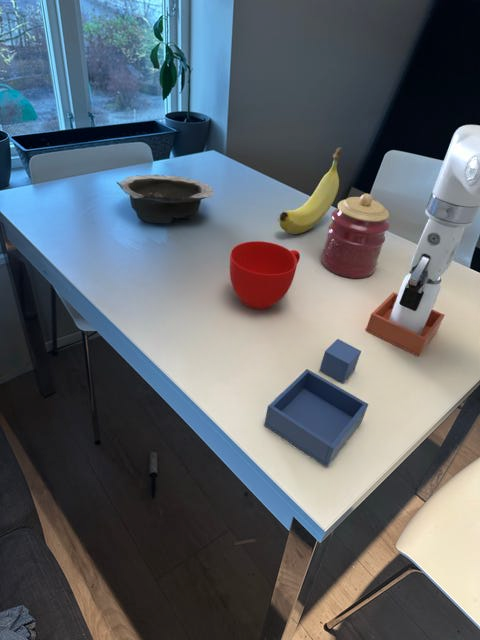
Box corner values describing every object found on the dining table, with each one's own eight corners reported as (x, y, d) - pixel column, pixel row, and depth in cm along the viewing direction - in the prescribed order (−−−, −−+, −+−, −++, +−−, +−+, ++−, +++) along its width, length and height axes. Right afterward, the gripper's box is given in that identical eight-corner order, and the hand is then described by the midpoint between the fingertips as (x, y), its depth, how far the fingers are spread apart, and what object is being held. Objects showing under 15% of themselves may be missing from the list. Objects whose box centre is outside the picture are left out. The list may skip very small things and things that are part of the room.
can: (423, 328, 88) (447, 275, 81) (416, 344, 83) (439, 289, 76) (392, 316, 90) (411, 263, 84) (382, 330, 86) (402, 276, 79)
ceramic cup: (314, 299, 94) (324, 257, 88) (255, 327, 84) (262, 282, 78) (271, 271, 101) (278, 231, 95) (212, 294, 91) (216, 251, 85)
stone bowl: (138, 237, 107) (135, 199, 102) (109, 204, 125) (105, 170, 119) (229, 223, 117) (231, 188, 112) (191, 194, 135) (190, 162, 130)
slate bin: (361, 422, 68) (368, 404, 65) (327, 467, 61) (333, 449, 58) (302, 386, 73) (306, 368, 70) (263, 425, 66) (267, 406, 63)
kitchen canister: (358, 286, 100) (381, 211, 89) (310, 263, 106) (326, 191, 95) (384, 266, 108) (407, 197, 97) (338, 246, 114) (355, 178, 104)
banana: (286, 244, 112) (301, 164, 100) (269, 235, 115) (281, 157, 103) (335, 221, 127) (353, 149, 115) (318, 214, 130) (334, 143, 118)
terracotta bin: (437, 331, 89) (444, 314, 86) (418, 356, 82) (426, 339, 79) (387, 308, 94) (393, 292, 91) (365, 330, 87) (371, 313, 84)
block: (354, 370, 77) (361, 350, 74) (342, 383, 74) (349, 363, 71) (331, 357, 79) (337, 338, 76) (319, 370, 76) (324, 350, 73)
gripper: (459, 232, 65) (417, 328, 76) (488, 202, 76) (449, 290, 87) (410, 215, 68) (377, 309, 79) (445, 189, 80) (412, 275, 91)
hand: (415, 298), depth 83 cm, fingers closed on can, 6 cm apart
